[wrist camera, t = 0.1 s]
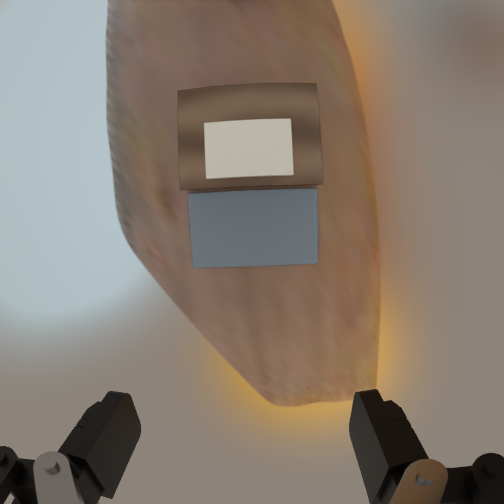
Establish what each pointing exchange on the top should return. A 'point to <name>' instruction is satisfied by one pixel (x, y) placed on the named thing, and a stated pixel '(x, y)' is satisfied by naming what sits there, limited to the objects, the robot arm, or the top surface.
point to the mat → (254, 228)
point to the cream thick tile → (248, 148)
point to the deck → (249, 108)
